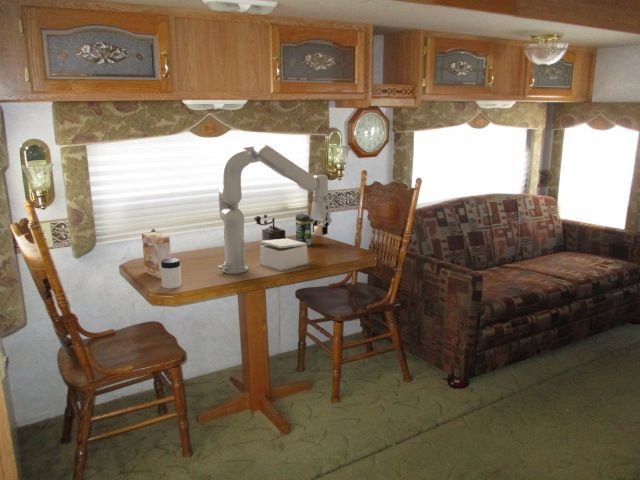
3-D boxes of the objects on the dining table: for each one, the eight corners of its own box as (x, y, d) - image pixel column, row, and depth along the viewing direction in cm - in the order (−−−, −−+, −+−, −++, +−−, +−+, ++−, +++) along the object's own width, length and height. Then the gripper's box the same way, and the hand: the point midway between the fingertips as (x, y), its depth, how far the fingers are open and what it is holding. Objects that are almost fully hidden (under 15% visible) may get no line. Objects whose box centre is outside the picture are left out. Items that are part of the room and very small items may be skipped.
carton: (280, 271, 266) (280, 251, 263) (260, 264, 277) (259, 246, 275) (307, 264, 278) (307, 245, 276) (286, 258, 289) (286, 240, 287)
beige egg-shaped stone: (320, 236, 276) (320, 227, 275) (311, 234, 280) (311, 226, 279) (328, 234, 280) (329, 226, 279) (320, 232, 284) (320, 224, 283)
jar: (165, 290, 238) (163, 264, 235) (159, 285, 244) (157, 260, 242) (184, 286, 243) (183, 260, 240) (178, 282, 249) (176, 257, 247)
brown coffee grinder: (276, 242, 326) (275, 213, 322) (286, 245, 318) (285, 215, 314) (253, 246, 317) (252, 216, 313) (263, 249, 309) (262, 218, 305)
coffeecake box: (144, 272, 265) (141, 233, 261) (157, 269, 270) (154, 231, 265) (159, 278, 255) (156, 238, 250) (172, 275, 260) (170, 236, 255)
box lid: (280, 248, 263) (280, 245, 263) (260, 242, 274) (260, 240, 274) (307, 245, 276) (308, 243, 276) (287, 240, 287) (287, 238, 287)
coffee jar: (293, 244, 320) (293, 213, 316) (304, 242, 325) (304, 212, 321) (302, 247, 313) (302, 216, 308) (313, 245, 317) (313, 214, 313)
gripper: (337, 200, 272) (337, 234, 276) (313, 196, 284) (313, 229, 288) (327, 201, 267) (326, 236, 271) (303, 197, 279) (303, 231, 283)
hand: (320, 232), depth 280 cm, fingers closed on beige egg-shaped stone, 6 cm apart
